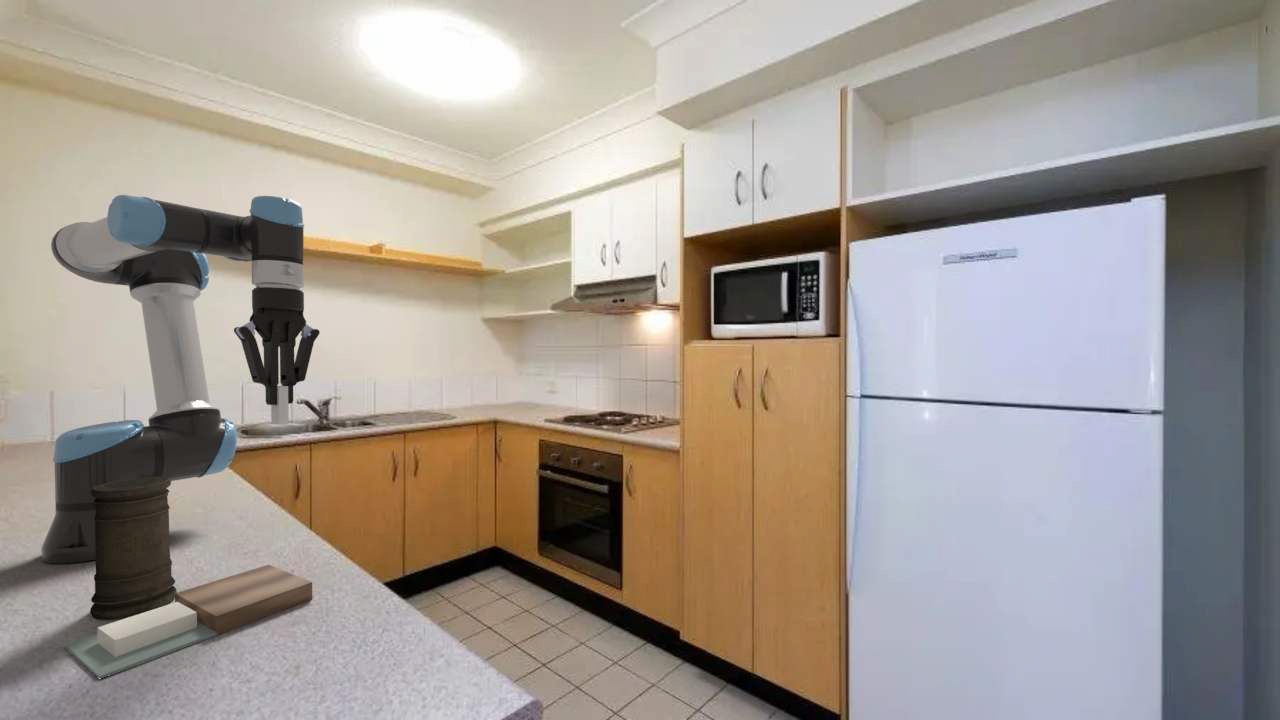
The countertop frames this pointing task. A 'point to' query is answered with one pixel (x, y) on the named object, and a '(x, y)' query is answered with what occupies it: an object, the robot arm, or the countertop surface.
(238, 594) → the board
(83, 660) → the mat
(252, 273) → the robot arm
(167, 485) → the container
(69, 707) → the countertop surface
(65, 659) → the countertop surface
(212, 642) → the countertop surface
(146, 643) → the block
